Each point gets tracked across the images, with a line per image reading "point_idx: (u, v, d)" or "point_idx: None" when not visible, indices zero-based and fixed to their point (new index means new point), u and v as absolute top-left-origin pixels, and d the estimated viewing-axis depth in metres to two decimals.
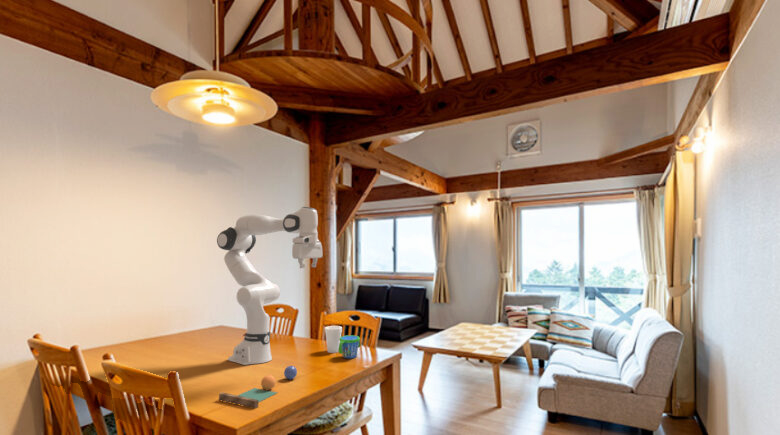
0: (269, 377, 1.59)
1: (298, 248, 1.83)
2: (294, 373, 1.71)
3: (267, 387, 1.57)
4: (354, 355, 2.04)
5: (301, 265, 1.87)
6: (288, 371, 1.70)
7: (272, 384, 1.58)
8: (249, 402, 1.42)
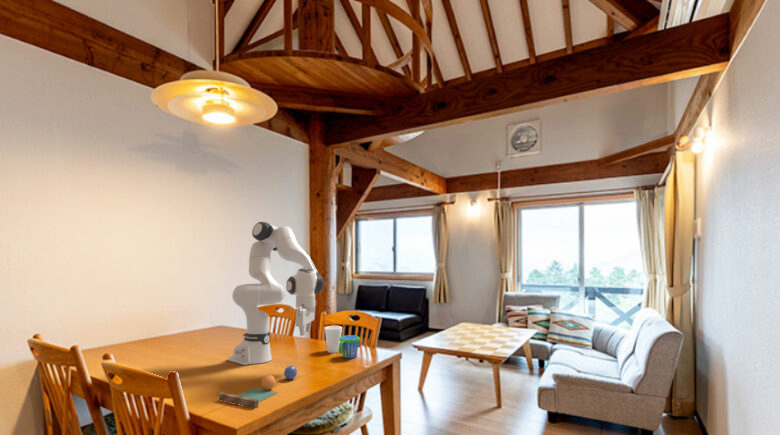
0: (269, 377, 1.59)
1: None
2: (294, 373, 1.71)
3: (267, 387, 1.57)
4: (354, 355, 2.04)
5: None
6: (288, 371, 1.70)
7: (272, 384, 1.58)
8: (249, 402, 1.42)
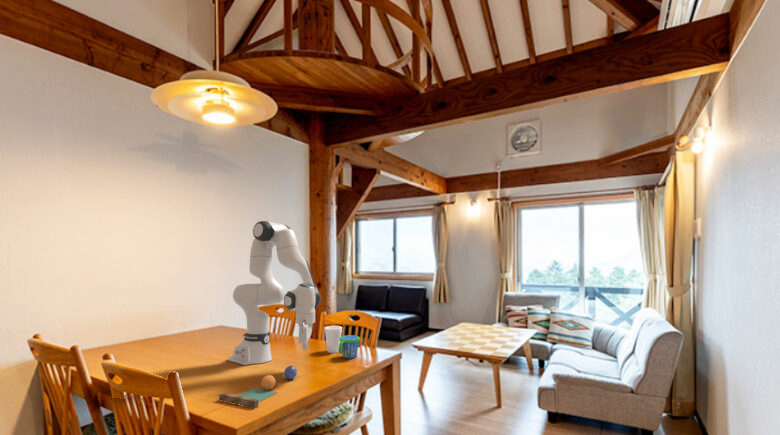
0: (269, 377, 1.59)
1: None
2: (294, 373, 1.71)
3: (267, 387, 1.57)
4: (354, 355, 2.04)
5: None
6: (288, 371, 1.70)
7: (272, 384, 1.58)
8: (249, 402, 1.42)
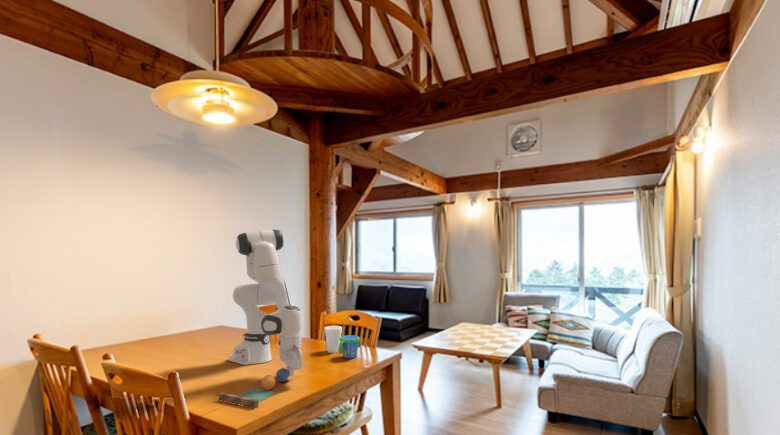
0: (269, 377, 1.59)
1: None
2: (286, 376, 1.67)
3: (267, 387, 1.57)
4: (354, 355, 2.04)
5: None
6: (281, 381, 1.67)
7: (272, 384, 1.58)
8: (249, 402, 1.42)
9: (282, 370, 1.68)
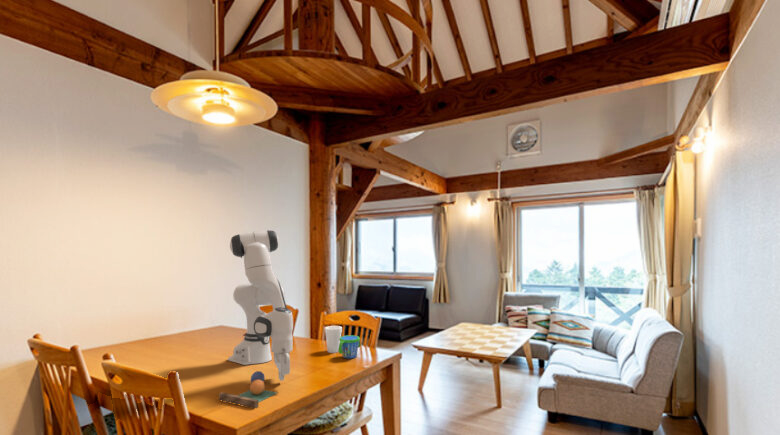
0: (256, 393, 1.52)
1: None
2: (253, 375, 1.63)
3: None
4: (354, 355, 2.04)
5: None
6: (257, 371, 1.66)
7: (263, 388, 1.54)
8: (249, 402, 1.42)
9: (259, 379, 1.63)
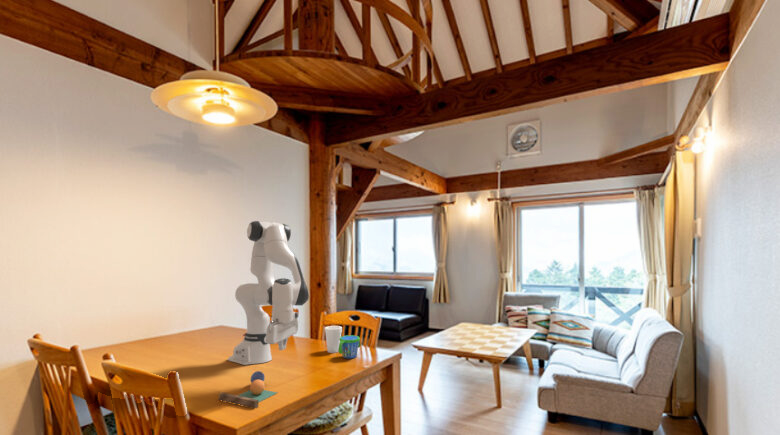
0: (256, 393, 1.52)
1: None
2: (253, 375, 1.63)
3: None
4: (354, 355, 2.04)
5: None
6: (257, 371, 1.66)
7: (263, 388, 1.54)
8: (249, 402, 1.42)
9: (259, 379, 1.63)
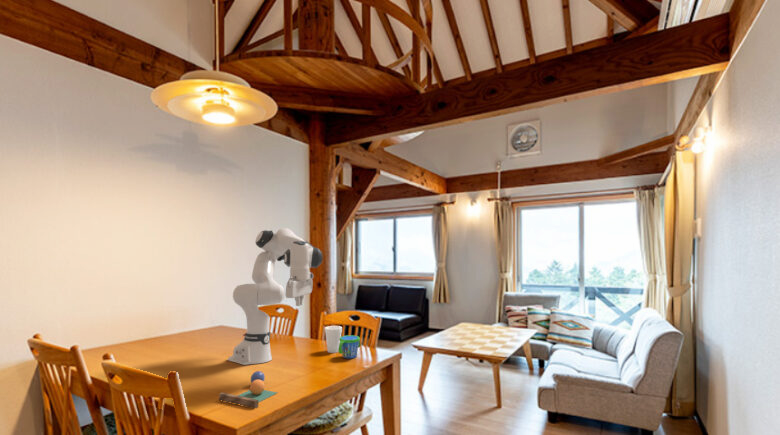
0: (256, 393, 1.52)
1: None
2: (253, 375, 1.63)
3: None
4: (354, 355, 2.04)
5: None
6: (257, 371, 1.66)
7: (263, 388, 1.54)
8: (249, 402, 1.42)
9: (259, 379, 1.63)
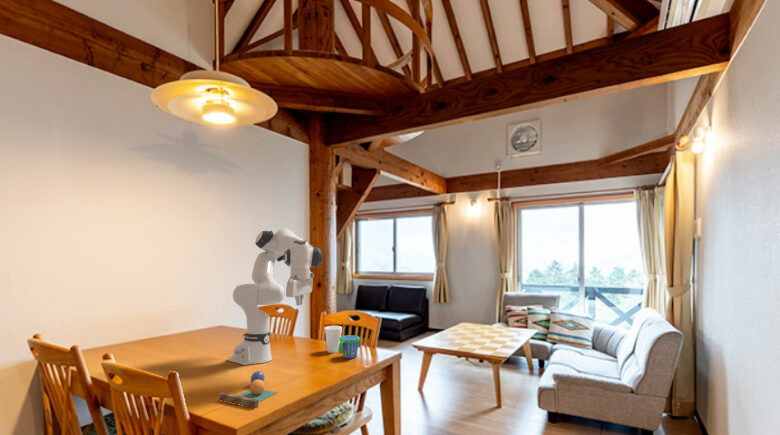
0: (256, 393, 1.52)
1: None
2: (253, 375, 1.63)
3: None
4: (354, 355, 2.04)
5: None
6: (257, 371, 1.66)
7: (263, 388, 1.54)
8: (249, 402, 1.42)
9: (259, 379, 1.63)
